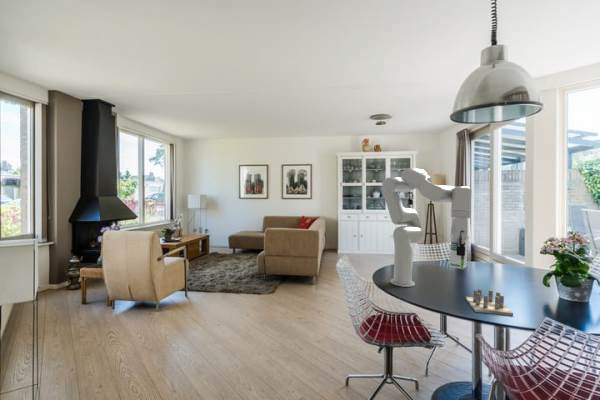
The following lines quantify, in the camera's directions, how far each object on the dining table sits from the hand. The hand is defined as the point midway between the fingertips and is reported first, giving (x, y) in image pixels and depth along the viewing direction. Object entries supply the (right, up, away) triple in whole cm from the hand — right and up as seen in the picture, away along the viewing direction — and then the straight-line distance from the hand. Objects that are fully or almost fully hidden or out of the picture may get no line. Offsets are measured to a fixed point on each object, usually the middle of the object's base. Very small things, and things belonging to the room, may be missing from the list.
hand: (458, 253), depth 135 cm
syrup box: (0, -6, 0) cm, 6 cm away
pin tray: (+13, -24, 0) cm, 27 cm away
